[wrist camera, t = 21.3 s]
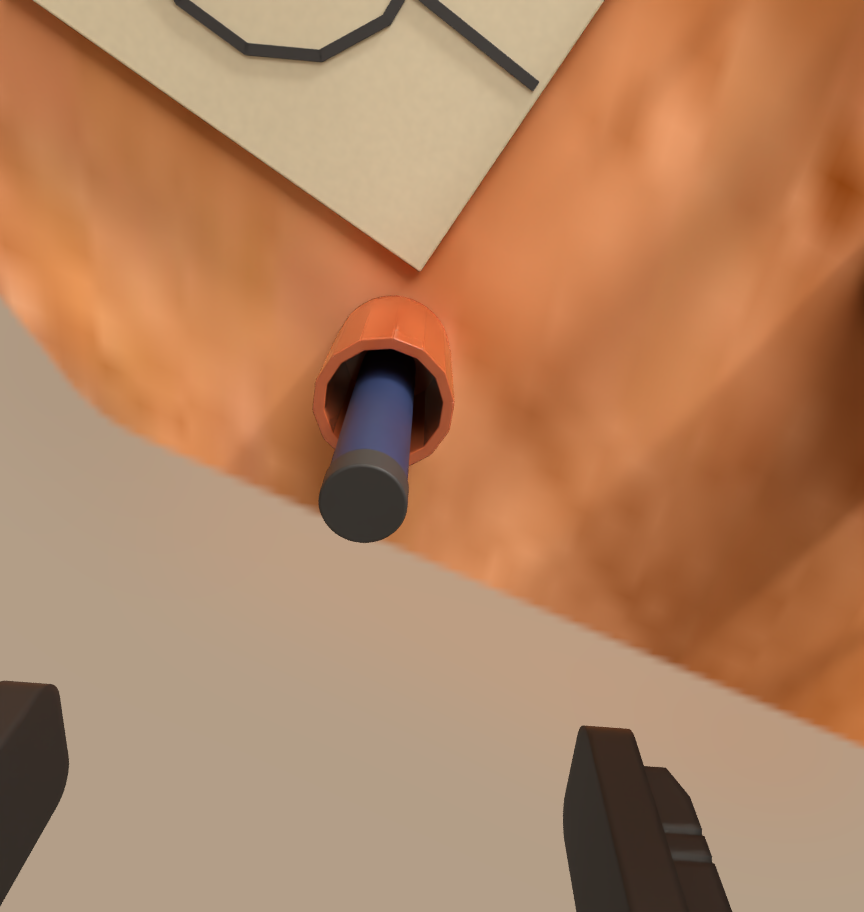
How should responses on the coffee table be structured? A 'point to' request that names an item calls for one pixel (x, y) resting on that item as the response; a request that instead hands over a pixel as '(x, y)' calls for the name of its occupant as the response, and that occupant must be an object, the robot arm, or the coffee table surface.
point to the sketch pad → (352, 90)
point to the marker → (372, 451)
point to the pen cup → (405, 332)
